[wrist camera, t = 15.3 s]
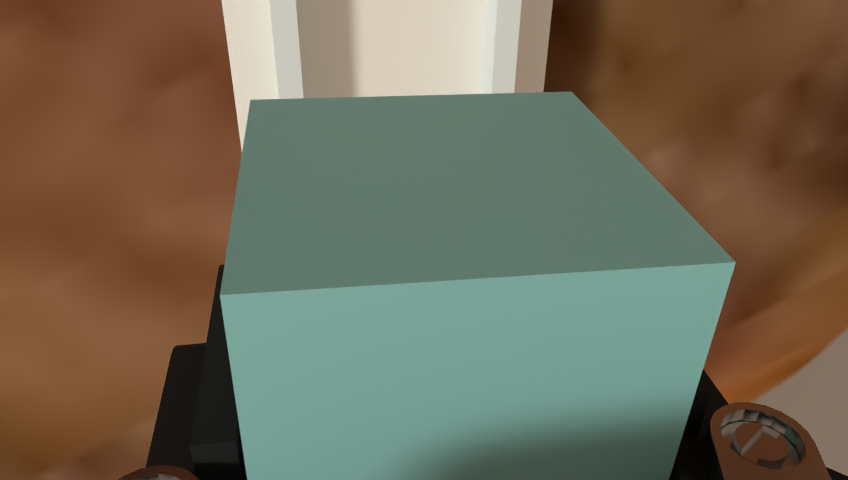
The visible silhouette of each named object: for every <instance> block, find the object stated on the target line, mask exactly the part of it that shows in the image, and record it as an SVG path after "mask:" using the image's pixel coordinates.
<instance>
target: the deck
mask: <svg viewBox="0 0 848 480" xmlns="http://www.w3.org/2000/svg"><path fill="white" fill-rule="evenodd" d="M552 4H553V0H222V6H223V14H224V21H225V29H226V36H227V44H228V51H229V59H230V66H231V74H232V81H233V89H234V96H235V104H236V111H237V119H238V126H239V134H240V141H241V149H242V150H243V144H244V137H245V131H246V125H247V118H248V112H249V106H250V100H257V99H297V98H336V97H376V96H415V95H455V94H494V93H533V92H543V90H544V81H545V71H546V62H547V52H548V43H549V33H550V23H551V14H552Z"/></svg>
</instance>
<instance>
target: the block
mask: <svg viewBox="0 0 848 480" xmlns="http://www.w3.org/2000/svg"><path fill="white" fill-rule="evenodd" d="M735 263H736V262H735V261H734V260H733V259H732V258H731V257H730V256H729V255H728V254H727V253H726V252H725V251H724V249H723V248H722V247H721V246H720V245H719V244H718V243H717V242H716V241H715V240H714V239H713V238H712V237H711V236H710V235H709V234H708V233H707V232H706V231H705V230H704V229H703V228H702V227H701V226H700V225H699V223H698V222H697V221H696V220H695V219H694V218H693V217H692V216H691V215H690V214H689V213H688V212H687V211H686V210H685V209H684V208H683V207H682V206H681V205H680V204H679V203H678V202H677V201H676V200H675V199H674V197H673V196H672V195H671V194H670V193H669V192H668V191H667V190H666V189H665V188H664V187H663V186H662V185H661V184H660V183H659V182H658V181H657V180H656V179H655V178H654V177H653V176H652V175H651V174H650V173H649V171H648V170H647V169H646V168H645V167H644V166H643V165H642V164H641V163H640V162H639V161H638V160H637V159H636V158H635V157H634V156H633V155H632V154H631V153H630V152H629V151H628V150H627V149H626V148H625V146H624V145H623V144H622V143H621V142H620V141H619V140H618V139H617V138H616V137H615V136H614V135H613V134H612V133H611V132H610V131H609V130H608V129H607V128H606V127H605V126H604V125H603V124H602V123H601V122H600V120H599V119H598V118H597V117H596V116H595V115H594V114H593V113H592V112H591V111H590V110H589V109H588V108H587V107H586V106H585V105H584V104H583V103H582V102H581V101H580V100H579V99H578V98H577V97H576V96H575V94H574V93H573V92H533V93H494V94H455V95H415V96H376V97H336V98H297V99H257V100H250V106H249V112H248V118H247V125H246V131H245V137H244V144H243V150H242V157H241V163H240V169H239V176H238V182H237V189H236V195H235V201H234V208H233V214H232V220H231V227H230V233H229V240H228V246H227V252H226V259H225V265H224V272H223V278H222V284H221V291H220V300H221V307H222V313H223V320H224V327H225V334H226V340H227V347H228V354H229V360H230V367H231V374H232V381H233V387H234V394H235V401H236V407H237V414H238V421H239V428H240V434H241V441H242V448H243V454H244V461H245V468H246V475H247V480H669V478H670V474H671V471H672V468H673V465H674V461H675V458H676V455H677V452H678V448H679V445H680V442H681V439H682V435H683V432H684V429H685V426H686V422H687V419H688V416H689V413H690V409H691V406H692V403H693V400H694V396H695V393H696V390H697V387H698V383H699V380H700V377H701V374H702V370H703V367H704V364H705V361H706V357H707V354H708V351H709V348H710V344H711V341H712V338H713V335H714V331H715V328H716V325H717V322H718V318H719V315H720V312H721V309H722V305H723V302H724V299H725V296H726V292H727V289H728V286H729V283H730V279H731V276H732V273H733V270H734V266H735Z"/></svg>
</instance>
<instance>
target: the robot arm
mask: <svg viewBox="0 0 848 480" xmlns="http://www.w3.org/2000/svg"><path fill="white" fill-rule="evenodd" d="M223 272H224V265H220V266H219V270H218V276H217V282H216V288H215V294H214V300H213V306H212V312H211V318H210V324H209V330H208V336H207V342H206V343H202V344H190V345H179V346H175V347H174V348H173V351H172V354H171V358H170V362H169V367H168V371H167V376H166V380H165V385H164V389H163V393H162V398H161V402H160V407H159V411H158V415H157V420H156V424H155V429H154V433H153V438H152V442H151V446H150V451H149V455H148V460H147V464H146V468H142V469H139V470H136V471H134V472H132V473H129V474H127V475H125V476H123V477H121V478H120V479H118V480H247V475H246V468H245V461H244V454H243V448H242V441H241V434H240V428H239V421H238V414H237V407H236V401H235V394H234V387H233V381H232V374H231V367H230V360H229V354H228V347H227V340H226V334H225V327H224V320H223V313H222V307H221V300H220V291H221V284H222V278H223ZM669 480H848V476H845V475H843V474H841V473H838V472H836V471H834V470H832V469H829V468H827V467H826V466H825V464H824V462H823V460H822V457H821V455H820V453H819V451H818V448H817V446H816V444H815V442H814V441H813V439H812V438H811V436H810V435H809V433H808V432H807V431H806V430H805V429H804V428H803V427H802V426H801V425H800V424H799V423H798V422H797V421H795V420H794V419H792V418H790V417H789V416H787V415H786V414H784V413H782V412H781V411H778V410H775V409H773V408H770V407H767V406H765V405H760V404H755V403H750V402H741V403H732V404H728V403H727V401H726V400H725V399H724V397H723V396H722V394H721V393H720V392H719V390H718V389H717V388H716V386H715V385H714V383H713V382H712V381H711V379H710V378H709V376H708V375H707V374H706V372H705V371H704V370H702V374H701V377H700V380H699V383H698V387H697V390H696V393H695V396H694V400H693V403H692V406H691V409H690V413H689V416H688V419H687V422H686V426H685V429H684V432H683V435H682V439H681V442H680V445H679V448H678V452H677V455H676V458H675V461H674V465H673V468H672V471H671V474H670V478H669Z"/></svg>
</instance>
